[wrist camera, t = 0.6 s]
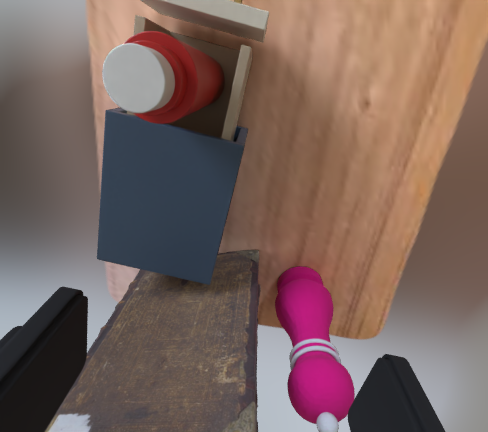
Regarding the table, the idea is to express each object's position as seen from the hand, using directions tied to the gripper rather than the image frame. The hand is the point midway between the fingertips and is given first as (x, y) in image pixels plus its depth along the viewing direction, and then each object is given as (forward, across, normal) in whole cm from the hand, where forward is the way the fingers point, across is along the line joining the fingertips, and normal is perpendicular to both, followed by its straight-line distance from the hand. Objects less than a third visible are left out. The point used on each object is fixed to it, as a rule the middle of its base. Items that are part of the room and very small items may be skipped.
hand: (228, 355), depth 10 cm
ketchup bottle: (+27, +7, -7) cm, 28 cm away
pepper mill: (+29, -11, +16) cm, 35 cm away
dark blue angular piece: (+28, +7, +4) cm, 30 cm away
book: (+29, +3, +17) cm, 33 cm away
